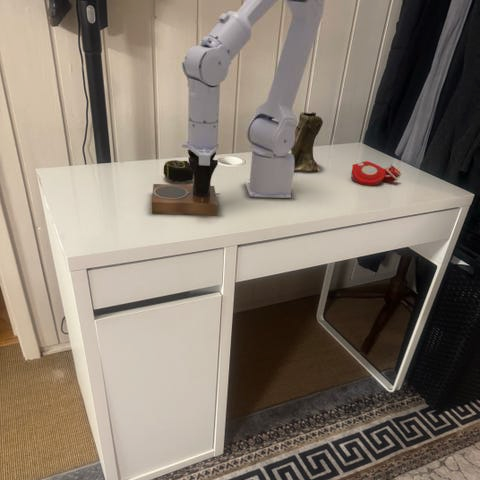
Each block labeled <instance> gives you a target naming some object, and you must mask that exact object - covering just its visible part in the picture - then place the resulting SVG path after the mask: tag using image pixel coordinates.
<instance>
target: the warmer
mask: <svg viewBox="0 0 480 480" xmlns="http://www.w3.org/2000/svg"><path fill="white" fill-rule="evenodd" d="M162 186H177V187H181V188H184V189H186V190H187V191H188V195H187V196H186V197H184V198H180V199H163V198H160V197H157V196H155V195H154V190H155V189H156V188H158V187H162ZM151 194H152V195H151V214H154V215H191V216H192V215H193V216H197V215H198V216H218V205H219V204H218V198H217V195H219V196H220V195H221V193H220V192H218V193H217V192H216V187H215V185H210V195H209V196H206V197H199V196H195V195H194V194H193V184H174V183H173V184H172V183H171V184H170V183H153V185H152V193H151Z"/></svg>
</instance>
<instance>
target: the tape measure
mask: <svg viewBox="0 0 480 480" xmlns="http://www.w3.org/2000/svg"><path fill="white" fill-rule="evenodd" d="M163 175H164V177H165V179H166V180H169V181H171V182H173V183H174V182H176V183H177V182H178V183H182V182H187V181H188V182H189V181H193V171H192V168H191V166H190V164H189V160H176V159H173V160H168V161H166V162H165V163H164V165H163Z"/></svg>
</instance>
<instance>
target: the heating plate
mask: <svg viewBox="0 0 480 480" xmlns="http://www.w3.org/2000/svg"><path fill="white" fill-rule="evenodd" d="M154 195H155V196H157V197H160V198H163V199H180V198H184V197H186V196H187V195H188V191H187V190H186V189H184V188H181V187H177V186H162V187H158V188H156V189H155V190H154Z"/></svg>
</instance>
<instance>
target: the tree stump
mask: <svg viewBox="0 0 480 480" xmlns="http://www.w3.org/2000/svg"><path fill="white" fill-rule="evenodd" d="M323 123H324V121H323V119H322V117H321V116H319V115H317V112H310V113H308V112H306V111H305V112H300V114H299V119H298V123H297V126H296V130H295V141H294V145H293V147H292V149H291V150H290V152H291V154H293V156H294V171H298V170H302V171H313V172H316V171H317V172H320V171H321V169H320V167H319V165H318V162H316V160H315V158H314V145H315V141H316V137H317V136H318V134H319V132H320V131H321V129H322V126H323Z"/></svg>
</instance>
